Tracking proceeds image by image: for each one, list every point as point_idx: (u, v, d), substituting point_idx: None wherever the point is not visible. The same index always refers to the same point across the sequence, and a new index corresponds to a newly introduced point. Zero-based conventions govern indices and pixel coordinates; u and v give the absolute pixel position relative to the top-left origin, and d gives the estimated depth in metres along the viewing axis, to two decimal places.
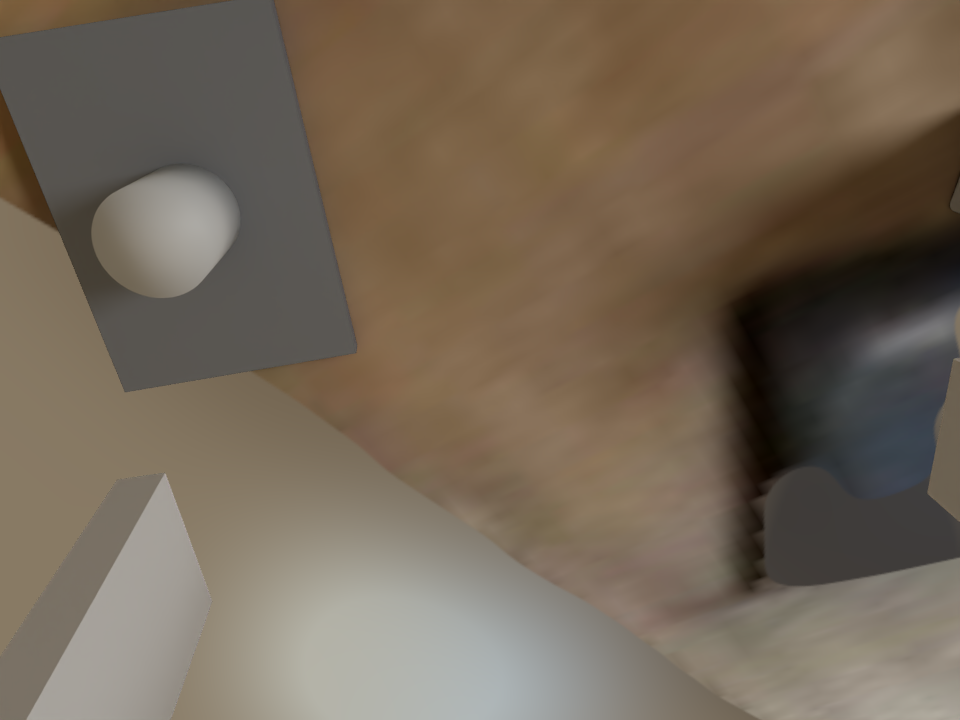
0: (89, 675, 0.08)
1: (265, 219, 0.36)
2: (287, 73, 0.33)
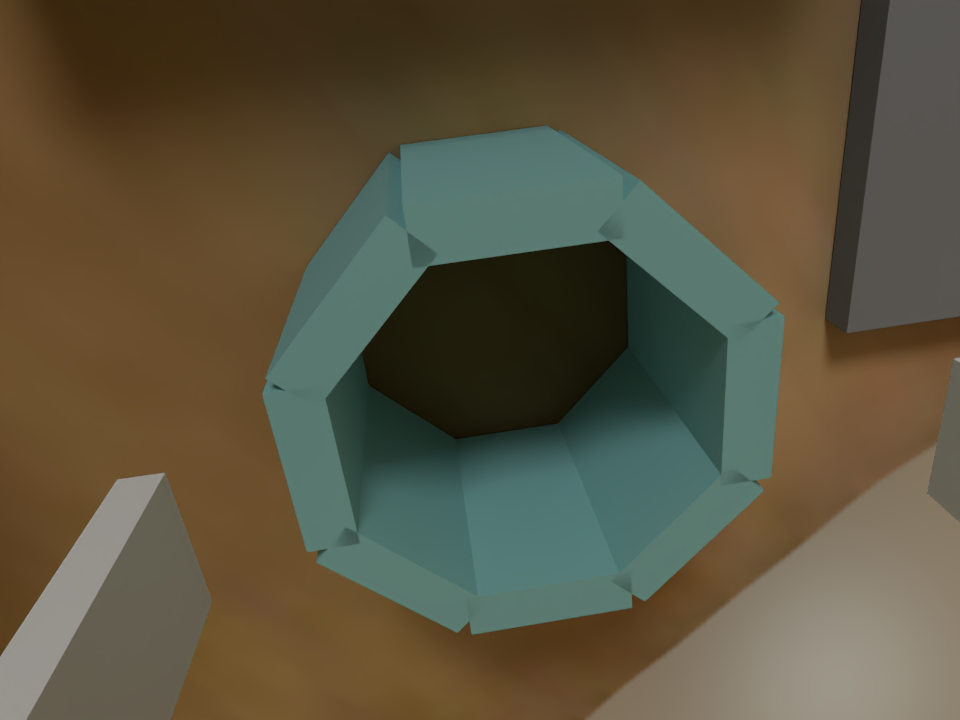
0: (90, 675, 0.08)
1: None
2: None
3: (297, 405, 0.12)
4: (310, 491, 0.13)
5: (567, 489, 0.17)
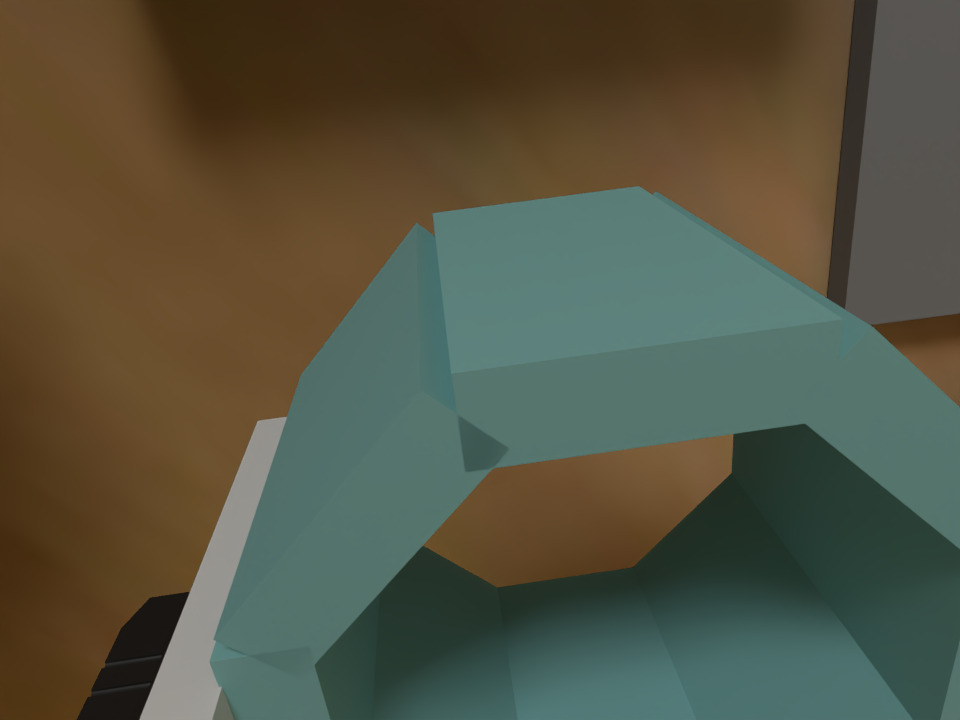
0: None
1: None
2: None
3: (268, 676, 0.07)
4: None
5: (659, 690, 0.12)
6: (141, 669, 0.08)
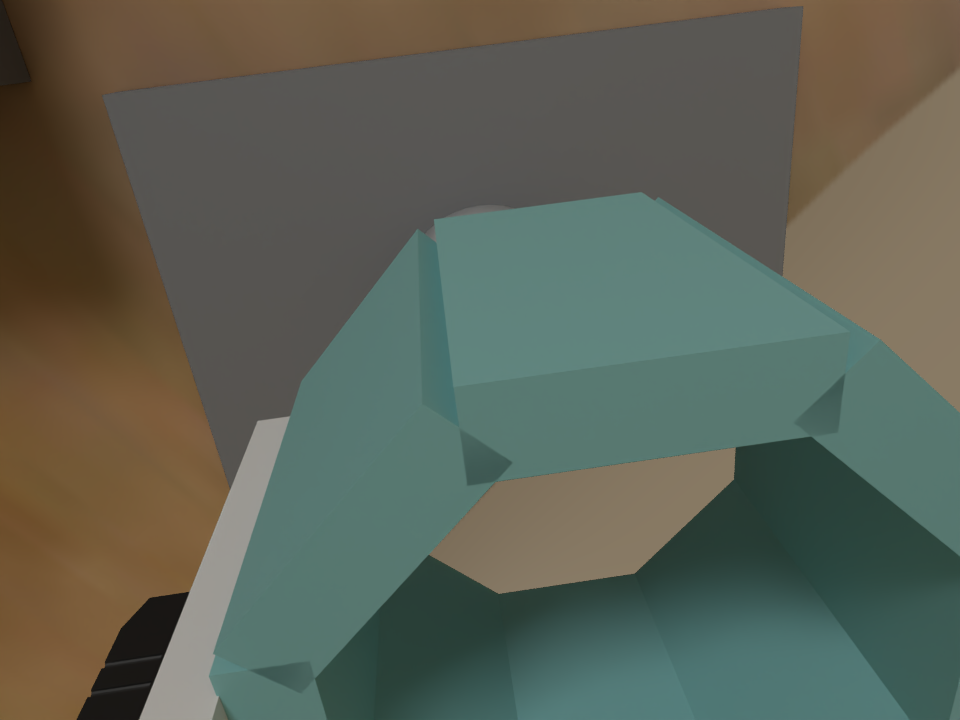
0: None
1: (505, 160, 0.19)
2: (236, 77, 0.18)
3: (267, 690, 0.07)
4: None
5: (662, 698, 0.12)
6: (141, 669, 0.08)
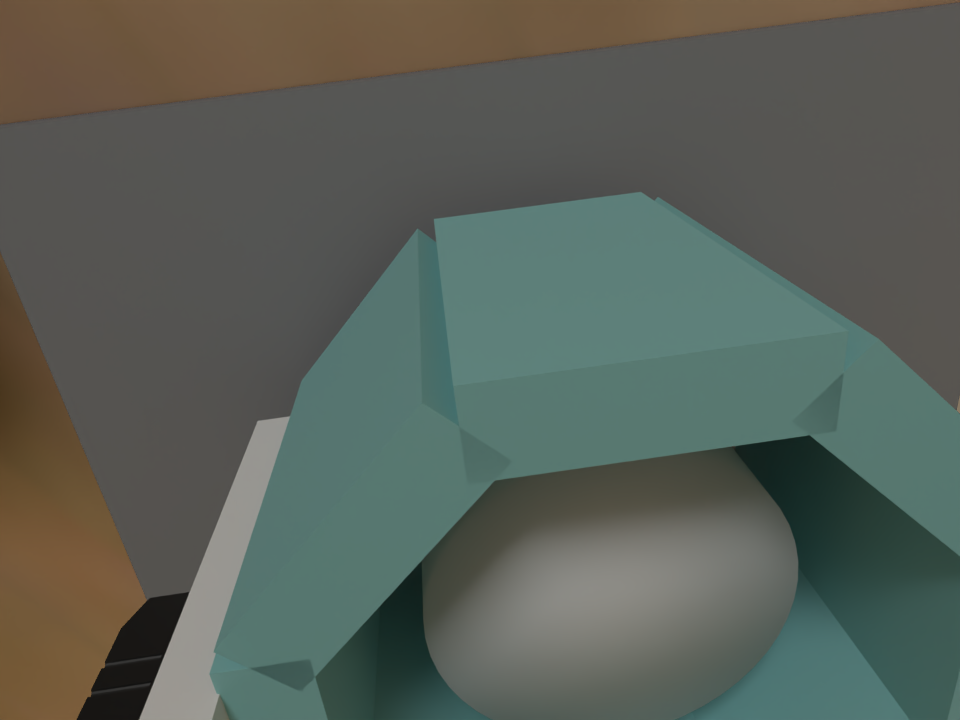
0: None
1: None
2: (162, 106, 0.11)
3: (268, 687, 0.07)
4: None
5: None
6: (141, 669, 0.08)
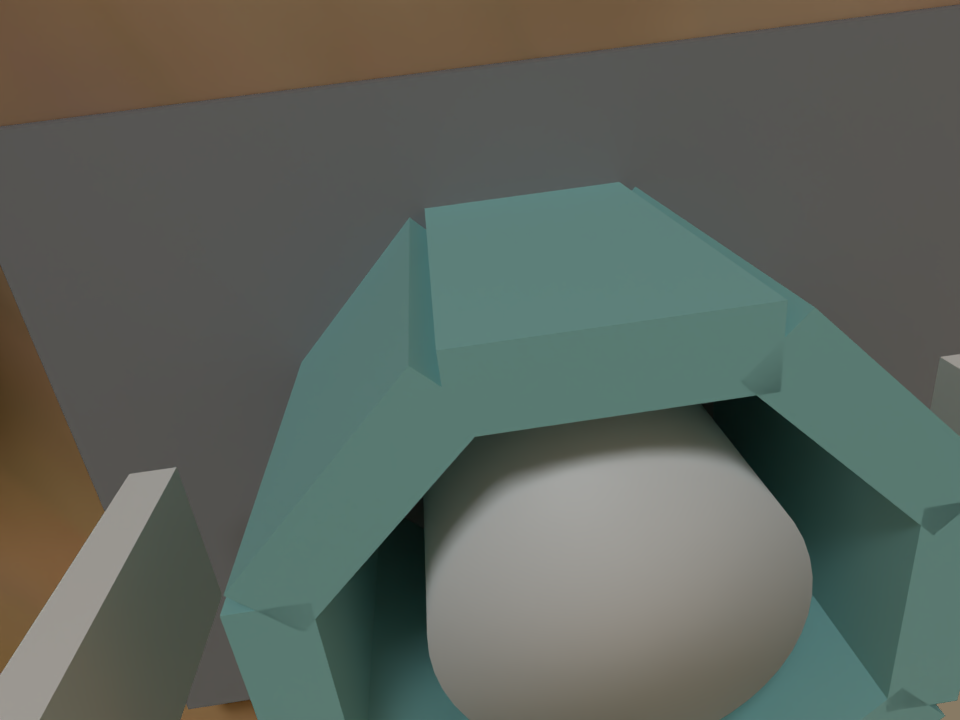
0: (106, 665, 0.08)
1: None
2: (161, 109, 0.11)
3: (273, 628, 0.08)
4: None
5: None
6: None
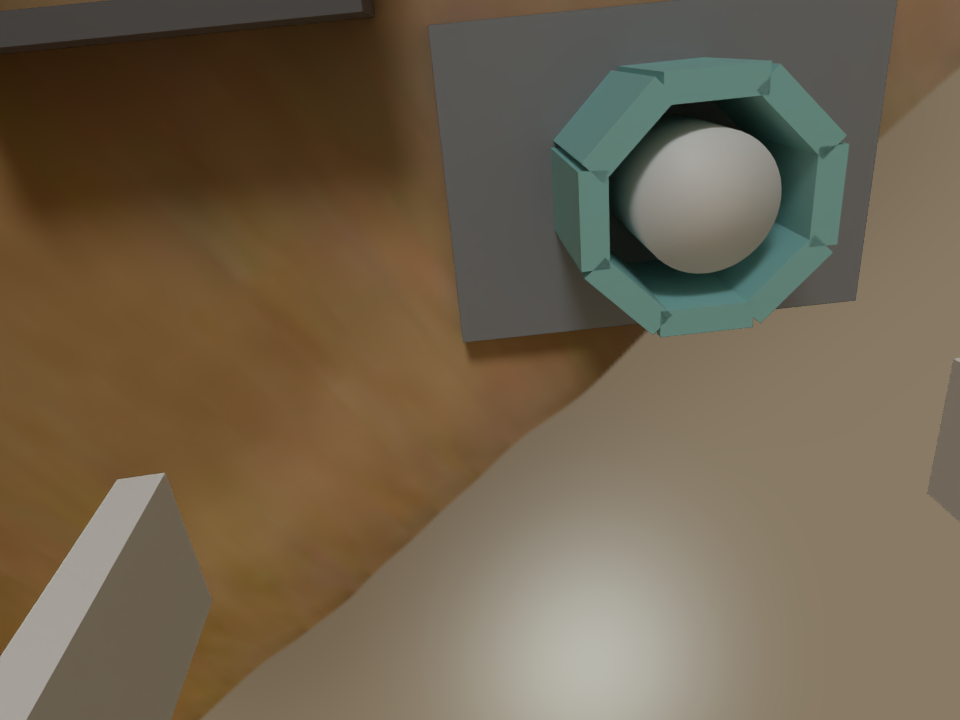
0: (89, 675, 0.08)
1: None
2: None
3: (594, 179, 0.23)
4: (590, 233, 0.24)
5: (707, 278, 0.28)
6: None
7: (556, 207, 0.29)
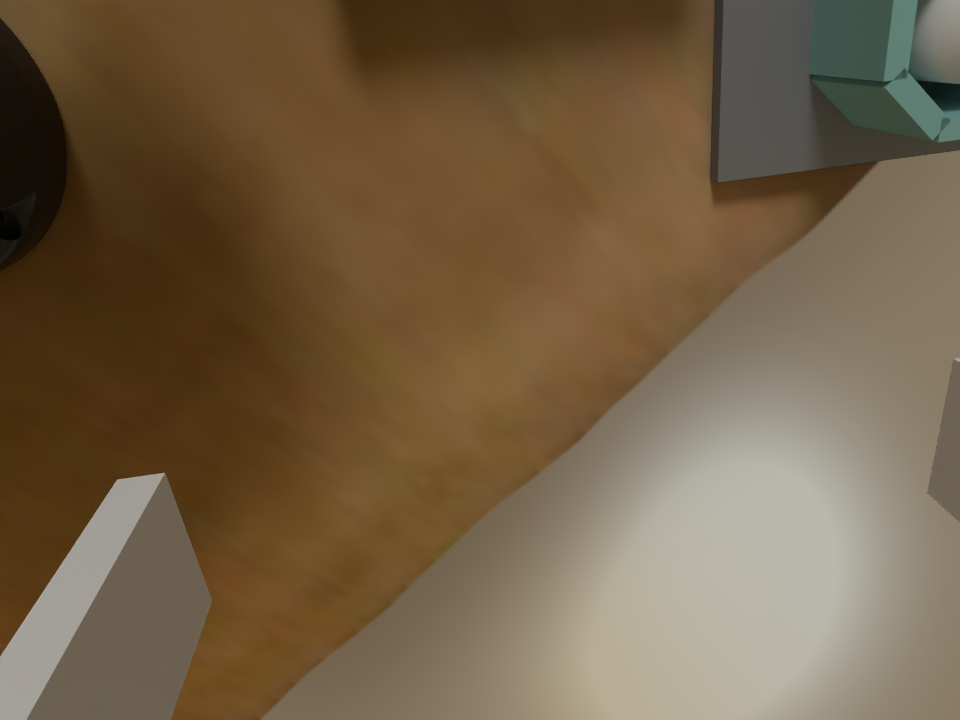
0: (89, 675, 0.08)
1: None
2: None
3: None
4: (896, 45, 0.28)
5: (955, 103, 0.33)
6: None
7: (819, 49, 0.33)
